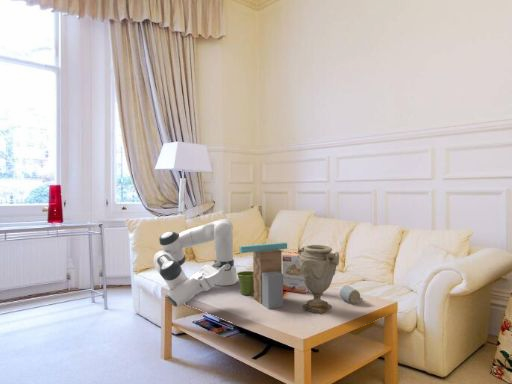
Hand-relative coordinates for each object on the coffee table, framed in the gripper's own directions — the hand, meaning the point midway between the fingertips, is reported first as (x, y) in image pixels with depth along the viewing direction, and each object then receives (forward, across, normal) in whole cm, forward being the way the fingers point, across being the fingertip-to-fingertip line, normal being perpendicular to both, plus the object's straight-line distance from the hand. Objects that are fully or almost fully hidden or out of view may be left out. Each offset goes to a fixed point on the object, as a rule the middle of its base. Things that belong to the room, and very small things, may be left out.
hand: (223, 264), depth 181 cm
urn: (+24, +24, -38) cm, 51 cm away
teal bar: (+22, 0, -7) cm, 23 cm away
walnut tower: (+10, 0, -30) cm, 32 cm away
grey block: (+9, +10, -29) cm, 32 cm away
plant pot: (+6, -15, -28) cm, 32 cm away
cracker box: (+29, -7, -41) cm, 51 cm away
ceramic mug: (+42, +22, -49) cm, 68 cm away
